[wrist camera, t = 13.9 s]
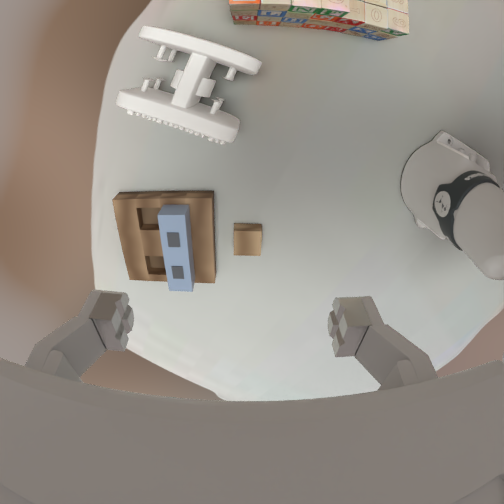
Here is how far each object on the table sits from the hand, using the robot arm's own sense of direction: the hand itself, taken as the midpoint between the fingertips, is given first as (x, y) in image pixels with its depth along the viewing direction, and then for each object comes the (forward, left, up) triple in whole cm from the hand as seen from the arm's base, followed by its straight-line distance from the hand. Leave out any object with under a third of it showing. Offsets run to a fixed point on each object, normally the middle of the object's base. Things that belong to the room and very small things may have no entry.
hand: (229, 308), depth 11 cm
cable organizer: (+6, -8, -34) cm, 36 cm away
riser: (-2, +17, -34) cm, 38 cm away
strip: (+9, +17, -33) cm, 38 cm away
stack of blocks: (-9, -20, -34) cm, 41 cm away
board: (+12, +17, -34) cm, 40 cm away
